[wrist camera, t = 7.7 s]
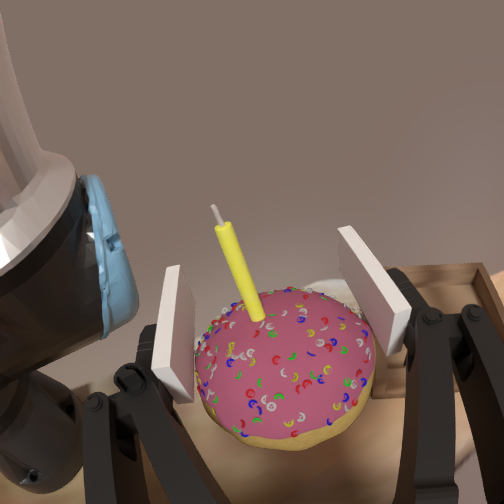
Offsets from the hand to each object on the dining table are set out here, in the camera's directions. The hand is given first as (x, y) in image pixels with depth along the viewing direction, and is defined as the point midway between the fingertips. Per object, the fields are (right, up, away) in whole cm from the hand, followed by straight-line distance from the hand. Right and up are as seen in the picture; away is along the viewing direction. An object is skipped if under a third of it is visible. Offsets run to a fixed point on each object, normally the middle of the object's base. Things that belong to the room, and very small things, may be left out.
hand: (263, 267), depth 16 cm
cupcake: (+2, -8, 0) cm, 8 cm away
